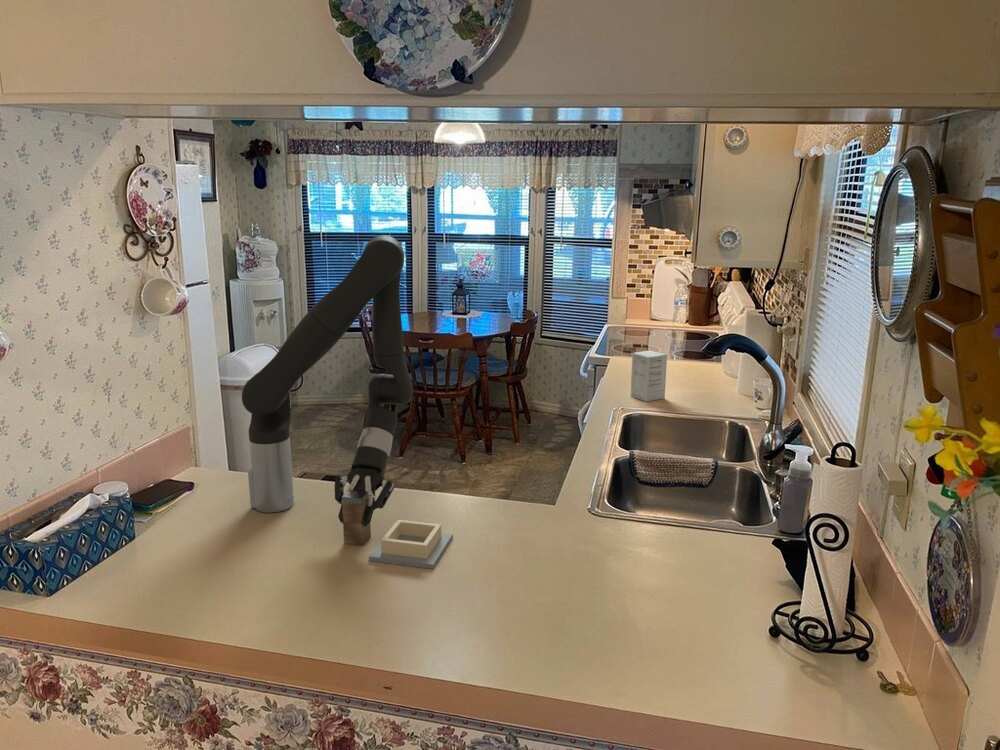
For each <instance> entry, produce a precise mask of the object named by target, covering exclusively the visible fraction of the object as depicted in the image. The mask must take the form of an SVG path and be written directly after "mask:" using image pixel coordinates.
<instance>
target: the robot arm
mask: <svg viewBox="0 0 1000 750" xmlns="http://www.w3.org/2000/svg"><path fill="white" fill-rule="evenodd" d="M404 264H405V251H404V248H403V246H402V245H401V244H400V242H399V240H397V239H396V238H394V237H393V236H391V235H388V234H387V235H386V234H381V235H378V236H377V235H376V236H375V237H373V238H371V239H370V240H369V241H367V243H366V245H365V246H364V248H363V251H362V253H361V255H360V257H359V258H358V260H357V261H356V263H355V264H354V265H353V267H352V268H351V269H350V271H349V272H348V274H347V275H346V276H345V277H344V278H343V279H342V280H341V282H339V283H338V284H337V285H336V286H335V287H333V288H332V289H331V290H329V291H328V292H327V293H326V294H325V295H324V296H323V297H321V298H320V299H319V300H318V301H317V302H316V303H315V304H313V306H312V307H311V309H310V310H309V311H308V312H307V313H306V314H305V315H304V316H303V318H302V319H301V320H300V321H299V322H298V324H297V325H296V326H295V327H294V329H293V330H292V331H291V333H290V335H288V337H287V338H286V340H285V342H284V343H283V345H282V346H281V347H280V349H279V350H278V352H277V353H276V354H275V355H274V356H273V357H272V359H271V360H270V361H269V362H267V364H266V365H265V366H264V367H263V368H261V369H260V370H259V371H258V372H257V373H256V374H254V375H253V376H252V377H251V378H249V380H248V381H246V383H245V384H244V385H243V388H242V392H241V403H242V405H243V406H244V409H245V410H246V411H247V412H248V413H250V414H251V417H250V423H249V427H248V440H249V442H248V443H249V453H250V465H251V466H250V467H251V468H250V469H249V470H248V471H247V476H248V488H249V502H250V508H251V509H255V510H256V511H258V512H261V513H267V514H268V513H269V514H270V513H278V512H283V511H286V510H288V509H290V508H292V506H293V505H294V504H295V500H294V499H295V497H294V496H295V495H294V484H293V483H294V482H293V480H294V479H293V464H292V452H291V437H290V436H291V435H290V434H291V433H290V428H291V421H292V420H291V419H292V417H291V415H292V414H291V411H292V409H291V390H292V389H293V387H294V386H295V384H296V383H297V381H298V380H299V379H301V377H302V376H303V375H304V374H305V373H306V372H307V371H309V370H311V368H312V367H313V366H314V365H316V364H317V363H318V362H319V361H320V360H321V359H322V358H323V357H324V356H326V354H328V352H329V351H330V350H332V348H334V346H335V345H336V344H337V343H338V342H339V340H340V339H342V337H343V336H344V335H345V334H346V332H347V331H348V329H350V328H351V326H353V324H354V323H355V321H356V319H357V318H358V317H359V315H361V313H362V311H363V310H364V308H365V307H366V306H367V304H368V303H369V302H370V301H371V300H372V347H373V348H372V349H373V362H374V364H375V365H376V366H378V367H380V368H383V369H385V370H388V371H389V372H390V373H391V374H387V373H378V374H374V375H373V376H372V377H371V378H370V380H369V382H368V385H367V394H368V395H367V396H368V397H367V399H368V400H367V401H368V403H367V404H368V405H367V415H366V419H365V423H364V426H363V430H362V432H361V434H360V437H359V440H358V443H357V447H356V449H355V453H354V455H353V460H352V462H351V463H352V464H351V468H350V471H349V472H348V474H347V475H344V476H340V475H339V474H338V475H336V476H335V477H334V500H335V501H336V502H337V503H338V504H339V505H340V508H339V513H338V515H337V516H338V517H337V518H338V519H339V522H340V523H341V524H343V510H342V496H343V495H344V494H345V493H346V492H348V491H349V490H353V489H357V490H366V491H368V499H367V507H365V510H364V514H363V518H362V520H361V524H362V525H363V526H367V525H368V524H369V523H370V524H371V522H372V519H373V514H374V511H375V510H377V509H380V510H381V509H384V507H385V505H386V503H387V501H388V500H389V499H390V496H391V494H392V493H393V491H394V490H395V487H396V486H395V485H394V483H393V481H391V480H387V479H385V473H386V470H387V466H388V463H389V458H390V455H391V453H392V445H393V439H394V434H395V431H396V427H397V423H398V415H397V414H396V412H394V411H393V410H392V409H389V408H387V407H384V406H383V404H385V405H398V406H404V405H407V404H408V403H409V402H410V401H411V400H412V398H413V393H414V385H413V382H412V379H411V375H410V373H409V369H408V366H407V363H406V360H405V353H404V352H405V350H404V349H405V348H404V335H403V334H404V333H403V323H402V321H403V320H402V313H401V299H400V294H401V293H400V292H401V291H400V289H401V288H400V284H401V274H402V270H403V267H404ZM347 482H348V485H349V486H348V487H347V488H346V491H344V490H345V489H344V488H345V487H346V485H347ZM380 488H381V491H380V493H379V494H378V496H377V495H376V494H377V493H376V491H377V490H378V489H380Z"/></svg>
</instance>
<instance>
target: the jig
mask: <svg viewBox="0 0 1000 750" xmlns="http://www.w3.org/2000/svg"><path fill="white" fill-rule="evenodd" d="M453 539H454V534H453V533H448V532H447V533H446V532H442V524H441V523H440V524H439V523H431V522H423V521H414V520H413V521H412V520H404V519H397V520H396V522H395V523H394V524H392V526H391V527H390V529H389V530H388V531H387V532H386V533H385V535H384V536H383V537H382V538H381V539H380V542H379V543H378V545H377V546H376V547H375V549H373V551H372V552H371V553H370V555H368V561H369V562H377V563H383V564H391V565H399V566H406V567H414V568H415V567H416V568H423V569H431V570H433V569H435V567H436V566H437V564H438V563H439V561H440V560H441V557H442V556H443V555H444V552H445V551H446V550H447V548H448V546H449V545H450V543H451V542H452V540H453Z"/></svg>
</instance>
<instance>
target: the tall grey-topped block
mask: <svg viewBox="0 0 1000 750" xmlns="http://www.w3.org/2000/svg"><path fill="white" fill-rule="evenodd" d="M367 499H368V491H366V490H357V489H353V490H349V491H348V492H346V491H345V492H344V495H343V496H342V510H343V523H342V526H343V527H342V528H343V530H342V531H343V544H344V545H352V546H358V547H359V546H361V547H363V546H365V544H367V542H368V541H369V540H371V538H372V528H371V527H372V525H371V524H372V523H371V522H370V523H369V524H368V525H367V526H363V525H362V524H361V520H362V518H363V514H364V510H365V507H367Z"/></svg>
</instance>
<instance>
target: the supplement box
mask: <svg viewBox="0 0 1000 750" xmlns="http://www.w3.org/2000/svg"><path fill="white" fill-rule="evenodd" d="M631 354H632V355H631V356H632V357H631V359H632V360H631V361H632V362H631V376H630V377H631V378H630V397H633V398H636V399H638V400H640V401H641V400H642V401H644V402H651V401H657V400H663V399H666V382H667V381H666V379H667V363H668V354H665V353H663V352H662V353H661V352H658V351H655V350H644V351H636V352H632V353H631Z"/></svg>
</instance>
